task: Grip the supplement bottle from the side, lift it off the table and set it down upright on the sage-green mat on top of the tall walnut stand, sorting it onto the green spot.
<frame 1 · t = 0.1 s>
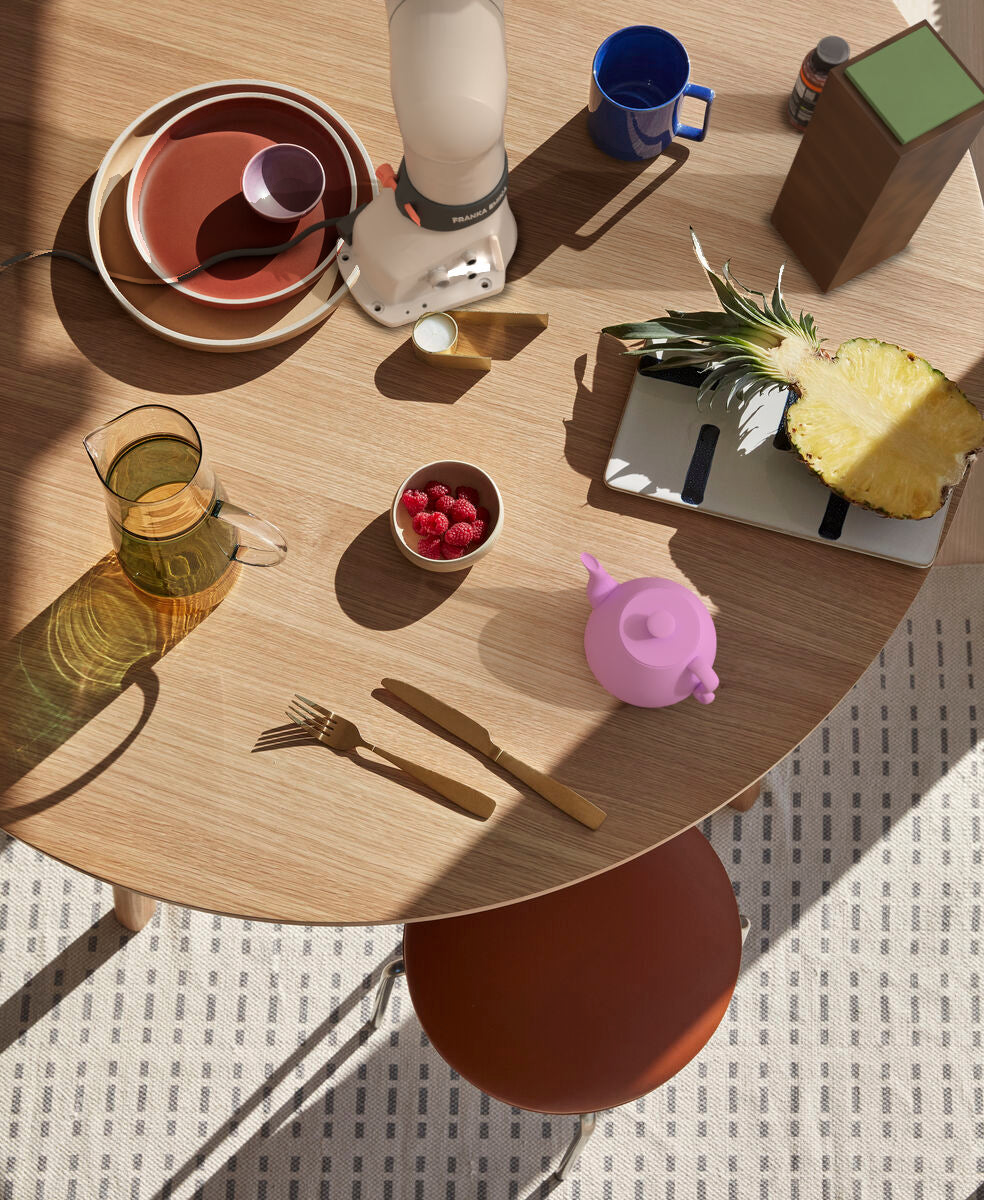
teapot: (639, 644, 123), on the table
supplement bottle: (808, 115, 141), on the table
walnut stand: (836, 234, 136), on the table
green mat: (913, 86, 111), resting on walnut stand
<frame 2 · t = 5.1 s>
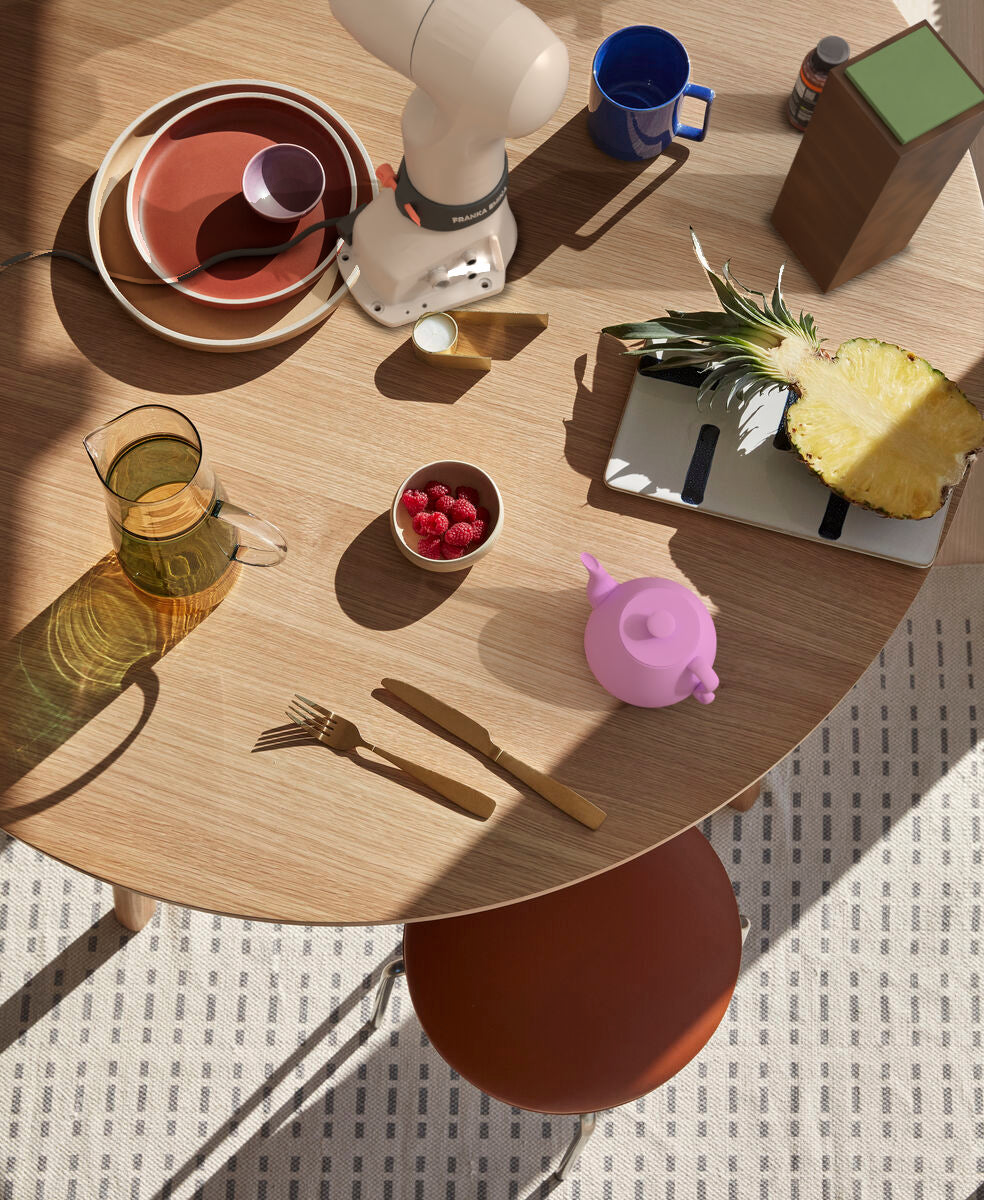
nothing on the table moved.
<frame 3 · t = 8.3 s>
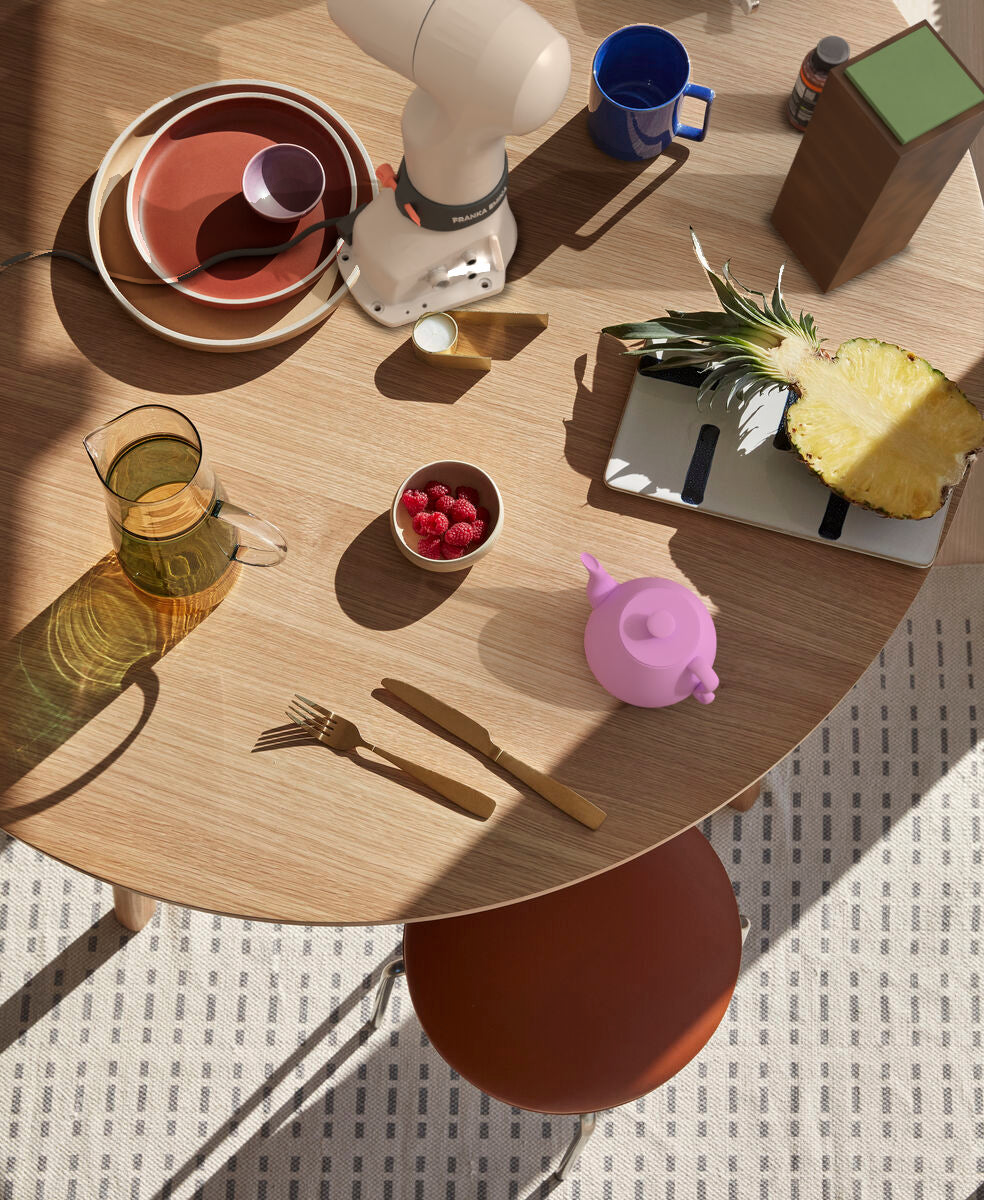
nothing on the table moved.
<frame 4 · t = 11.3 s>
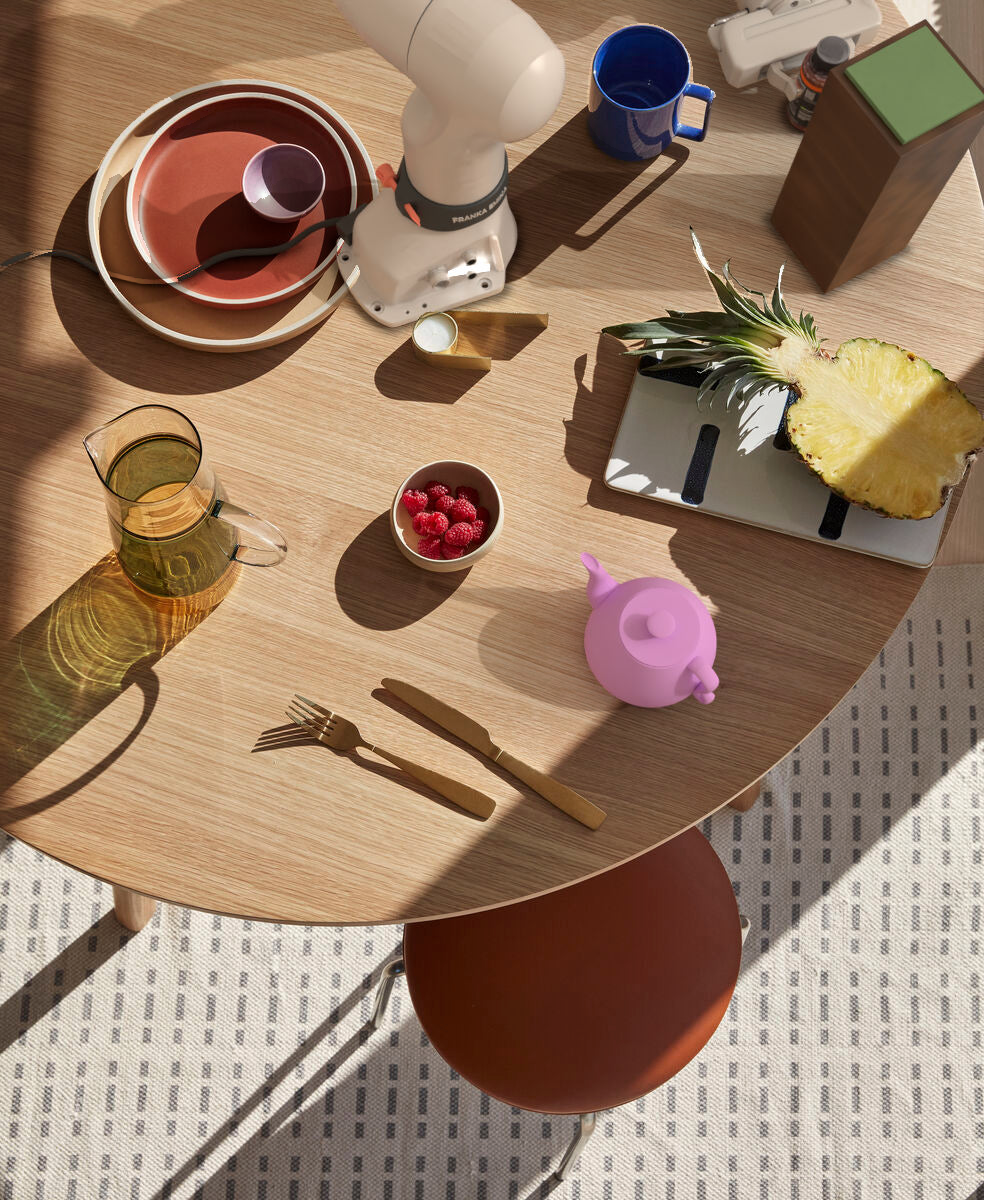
hand: (825, 86, 135), 6 cm above the table, tool horizontal, fingers closed on supplement bottle, 6 cm apart
supplement bottle: (807, 115, 141), on the table, touching gripper
everything else where it was.
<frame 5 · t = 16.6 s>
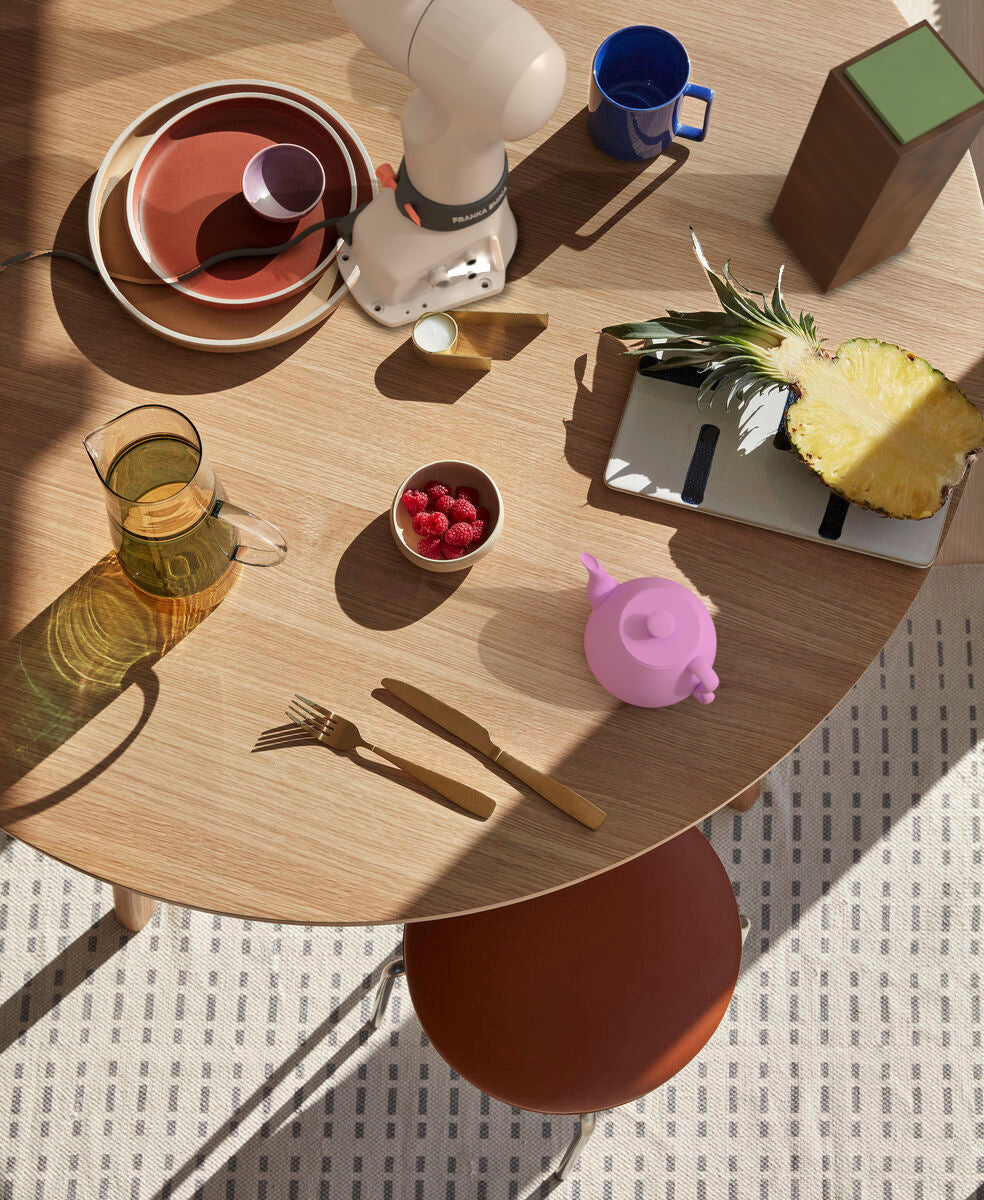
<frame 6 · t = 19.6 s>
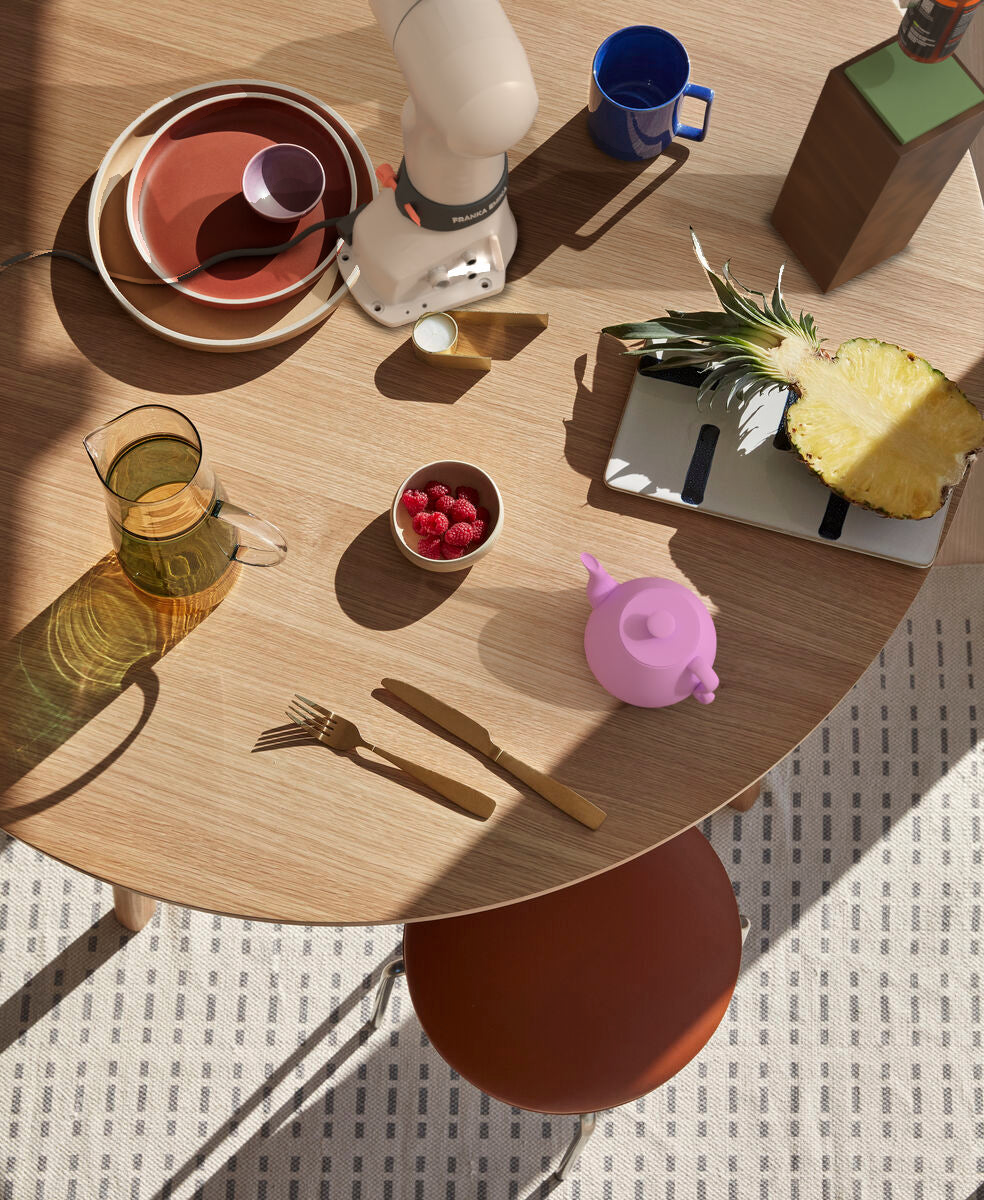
hand: (951, 2, 102), 36 cm above the table, tool horizontal, fingers closed on supplement bottle, 6 cm apart
supplement bottle: (924, 43, 108), point 30 cm above the table, touching gripper
everything else where it was.
when the fingers open (33 cm above the table, at t = 21.9 s): supplement bottle stays where it is, resting on green mat.
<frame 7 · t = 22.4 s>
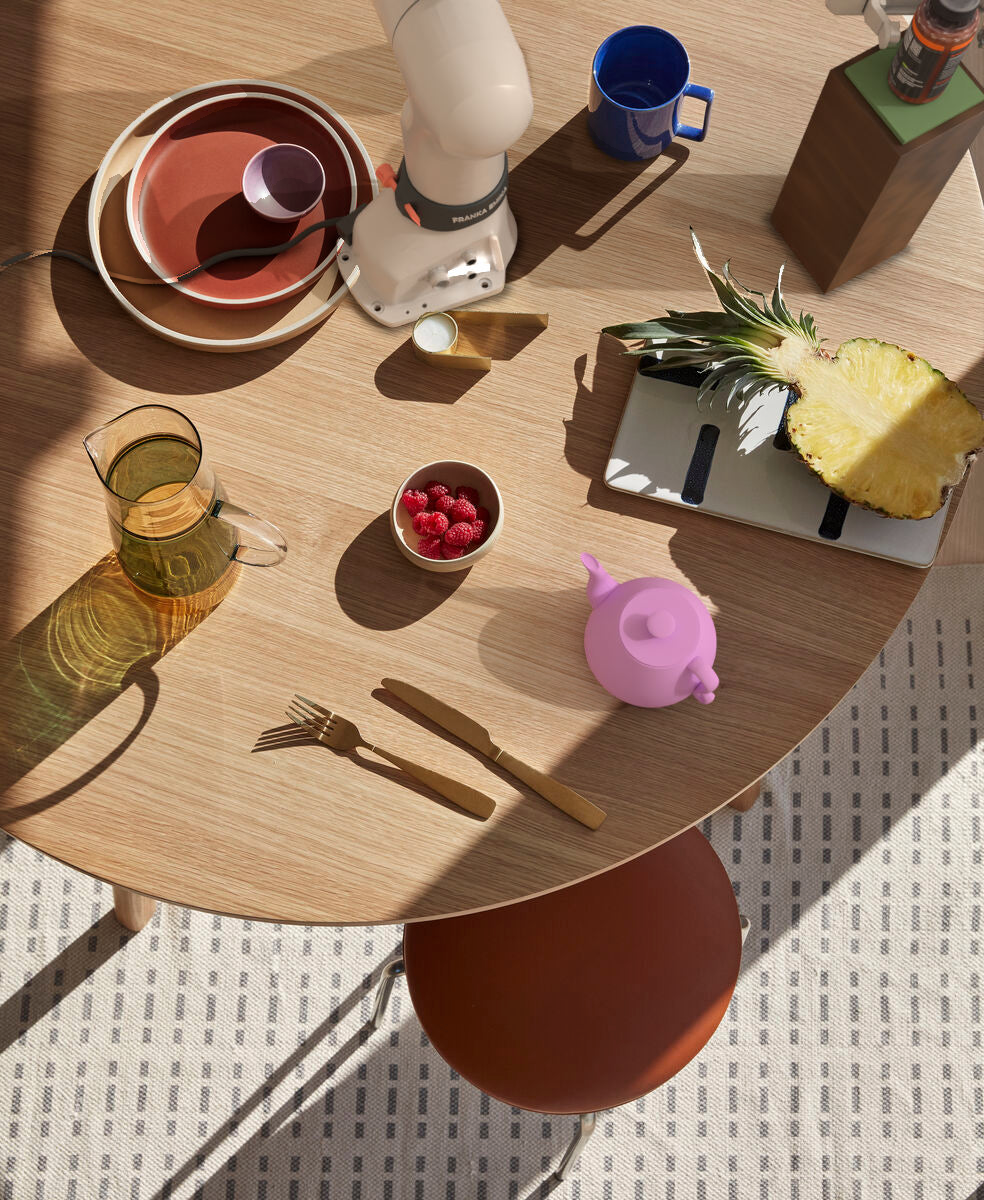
hand: (940, 44, 104), 33 cm above the table, tool horizontal, fingers open, 8 cm apart
supplement bottle: (914, 83, 111), point 26 cm above the table, touching green mat
everything else where it was.
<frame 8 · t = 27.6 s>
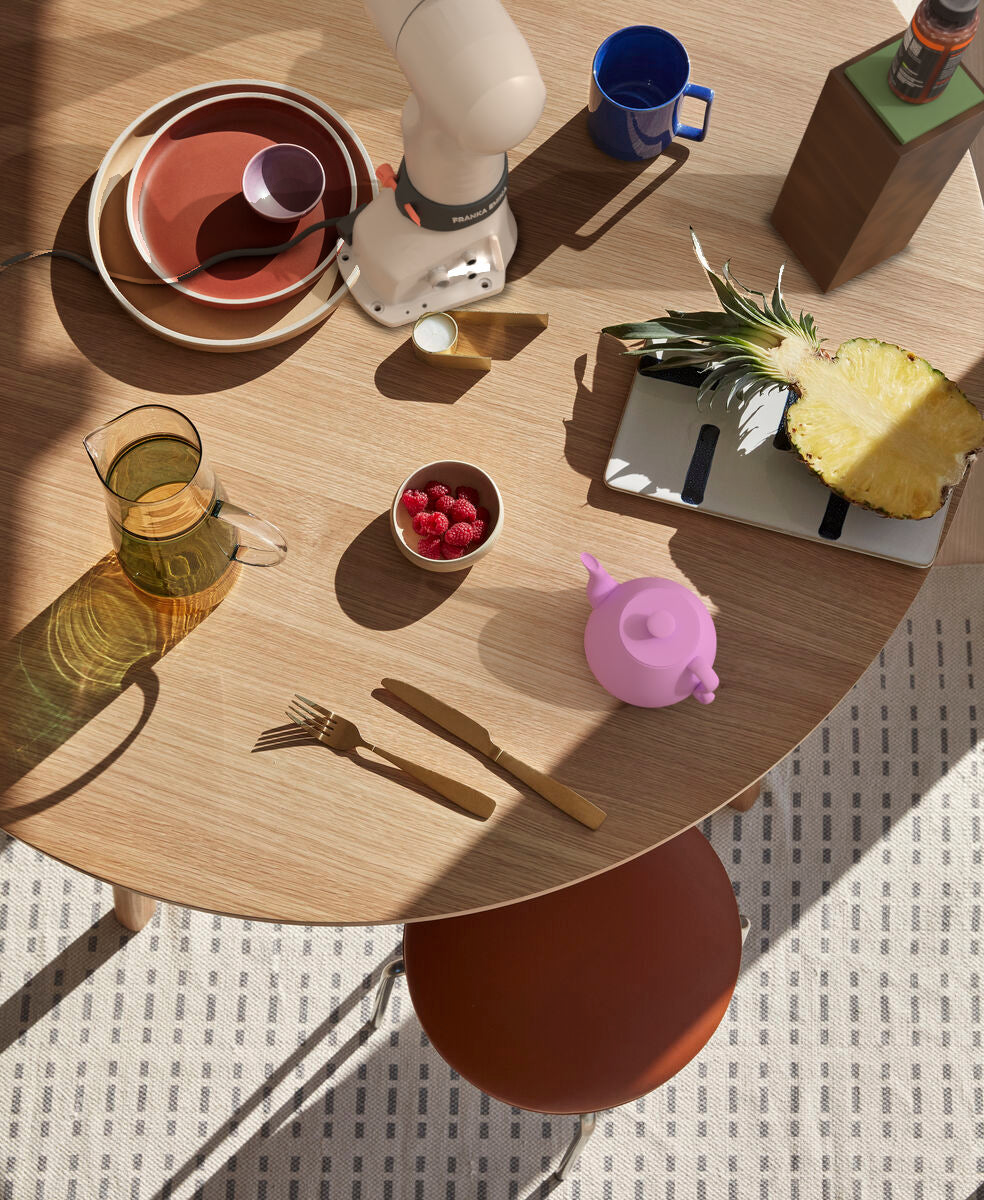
nothing on the table moved.
at the end: supplement bottle inside the target area on the green mat (0.1 cm from its centre), point 0.4 cm above the green mat's base; supplement bottle tilted 0°; the gripper is holding nothing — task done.
